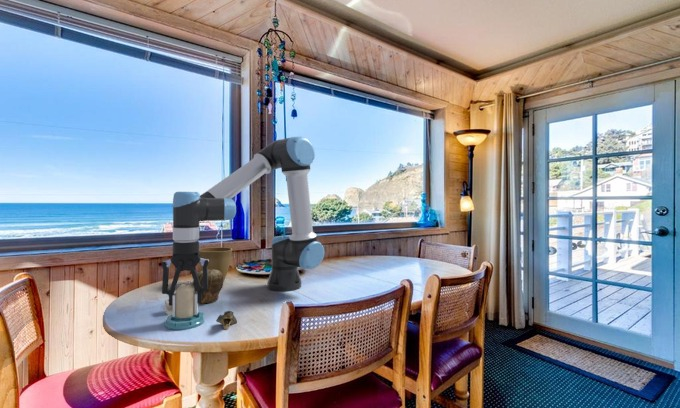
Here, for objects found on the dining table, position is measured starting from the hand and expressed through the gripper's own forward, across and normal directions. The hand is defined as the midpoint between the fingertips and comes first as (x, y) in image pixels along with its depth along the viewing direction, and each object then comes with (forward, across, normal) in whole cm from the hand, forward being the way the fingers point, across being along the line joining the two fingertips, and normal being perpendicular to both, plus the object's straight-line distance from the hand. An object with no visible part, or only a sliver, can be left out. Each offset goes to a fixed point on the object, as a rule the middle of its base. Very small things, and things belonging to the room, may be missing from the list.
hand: (185, 314), depth 103 cm
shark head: (+3, -12, +7) cm, 15 cm away
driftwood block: (+3, +5, -12) cm, 13 cm away
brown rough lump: (+3, -5, -22) cm, 23 cm away
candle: (+1, 0, 0) cm, 1 cm away
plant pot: (+3, -6, -47) cm, 47 cm away
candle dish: (+3, 0, 0) cm, 3 cm away
